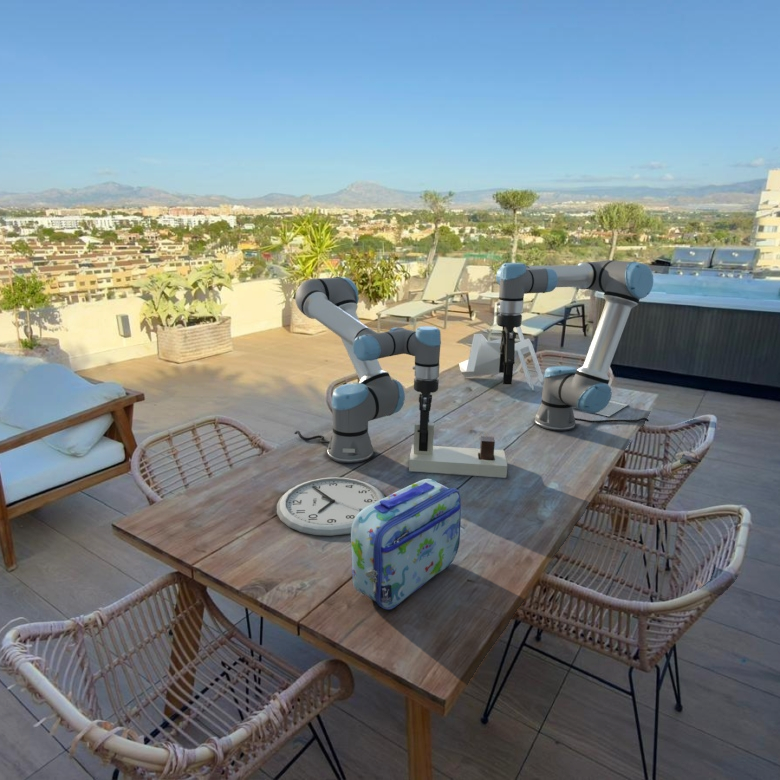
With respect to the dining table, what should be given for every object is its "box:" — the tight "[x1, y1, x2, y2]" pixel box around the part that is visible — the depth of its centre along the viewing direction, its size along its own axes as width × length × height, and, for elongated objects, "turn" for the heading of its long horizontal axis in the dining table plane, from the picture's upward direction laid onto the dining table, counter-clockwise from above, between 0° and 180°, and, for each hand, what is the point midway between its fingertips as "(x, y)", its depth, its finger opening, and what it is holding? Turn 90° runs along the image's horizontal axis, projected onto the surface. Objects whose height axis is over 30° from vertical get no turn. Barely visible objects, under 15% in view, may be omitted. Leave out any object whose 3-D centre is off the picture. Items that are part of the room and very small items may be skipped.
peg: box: [479, 435, 496, 460], centre depth 165 cm, size 4×4×10 cm
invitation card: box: [573, 400, 629, 418], centre depth 226 cm, size 21×1×15 cm
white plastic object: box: [458, 326, 544, 391], centre depth 258 cm, size 37×45×31 cm
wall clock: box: [276, 476, 386, 537], centre depth 142 cm, size 30×2×30 cm
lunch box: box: [350, 478, 462, 611], centre depth 110 cm, size 26×11×21 cm, turn 135°
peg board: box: [408, 420, 508, 479], centre depth 166 cm, size 30×12×14 cm, turn 83°
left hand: (423, 448), depth 167 cm, fingers closed on peg board, 3 cm apart
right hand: (505, 378), depth 171 cm, fingers open, 13 cm apart
